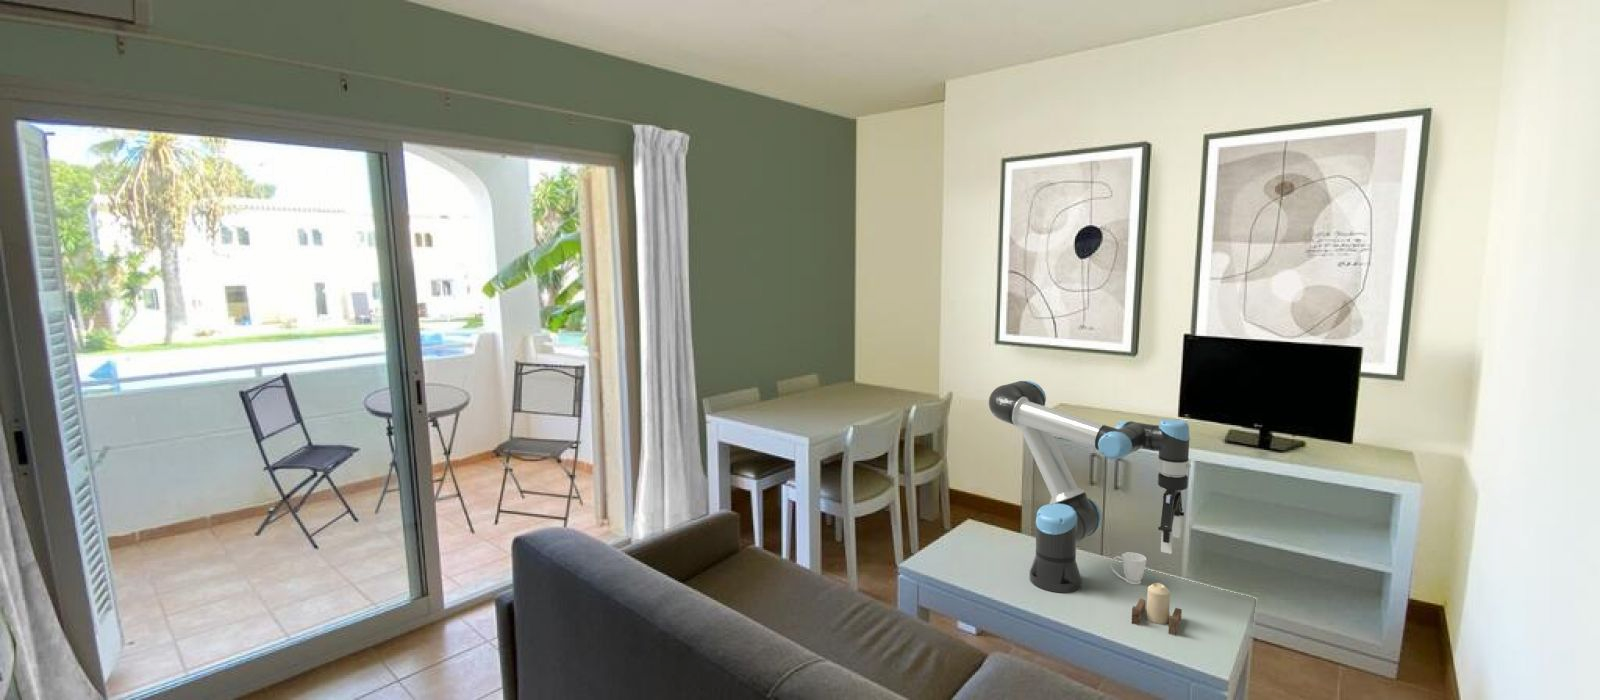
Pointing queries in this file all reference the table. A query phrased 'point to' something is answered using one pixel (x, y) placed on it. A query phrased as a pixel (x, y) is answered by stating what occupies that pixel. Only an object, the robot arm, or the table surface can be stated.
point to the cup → (1132, 567)
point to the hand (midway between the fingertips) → (1170, 544)
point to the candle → (1158, 603)
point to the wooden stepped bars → (1173, 620)
